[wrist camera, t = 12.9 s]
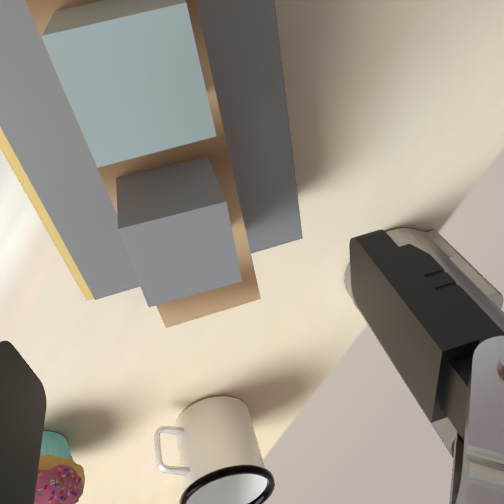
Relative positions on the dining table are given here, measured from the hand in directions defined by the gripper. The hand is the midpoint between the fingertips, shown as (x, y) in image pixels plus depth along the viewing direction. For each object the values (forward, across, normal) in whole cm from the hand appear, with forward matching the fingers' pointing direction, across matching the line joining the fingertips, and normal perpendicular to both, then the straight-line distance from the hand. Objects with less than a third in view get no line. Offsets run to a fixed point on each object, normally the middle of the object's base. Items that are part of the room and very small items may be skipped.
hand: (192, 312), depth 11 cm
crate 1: (+10, 0, -3) cm, 11 cm away
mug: (+22, +5, +37) cm, 43 cm away
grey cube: (+10, 0, +3) cm, 11 cm away
